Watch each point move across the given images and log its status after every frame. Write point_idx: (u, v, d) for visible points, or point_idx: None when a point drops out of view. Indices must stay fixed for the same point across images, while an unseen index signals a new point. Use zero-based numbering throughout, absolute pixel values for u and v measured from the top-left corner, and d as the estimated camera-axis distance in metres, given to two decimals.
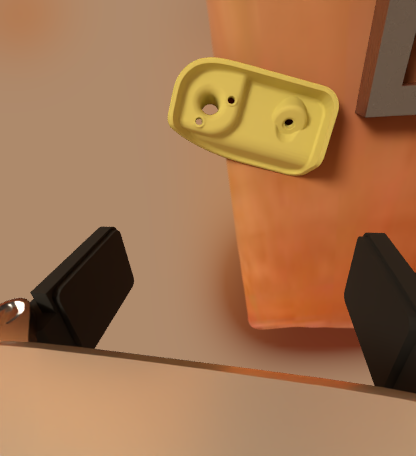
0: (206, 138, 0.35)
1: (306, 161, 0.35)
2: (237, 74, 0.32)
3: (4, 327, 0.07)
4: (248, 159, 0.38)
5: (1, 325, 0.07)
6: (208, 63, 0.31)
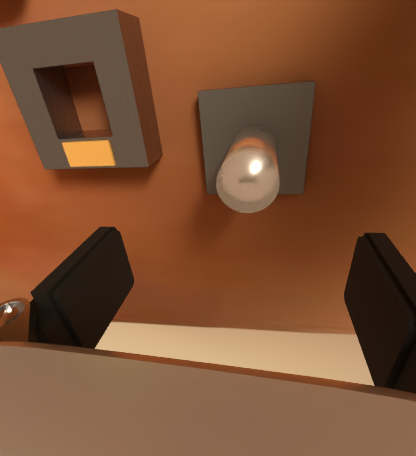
0: None
1: None
2: None
3: (4, 327, 0.07)
4: None
5: (1, 325, 0.07)
6: None
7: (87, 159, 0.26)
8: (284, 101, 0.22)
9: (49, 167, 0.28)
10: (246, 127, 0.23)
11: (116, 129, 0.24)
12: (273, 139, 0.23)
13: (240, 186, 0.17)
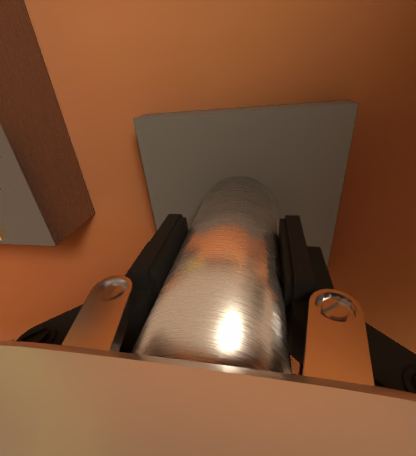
0: None
1: None
2: None
3: (106, 303, 0.07)
4: None
5: (106, 298, 0.07)
6: None
7: None
8: (294, 138, 0.12)
9: None
10: (223, 185, 0.12)
11: None
12: (273, 211, 0.12)
13: None
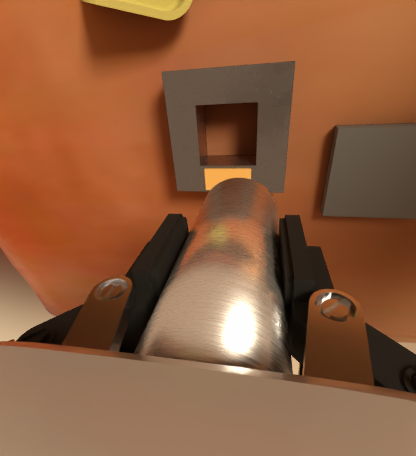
0: None
1: None
2: None
3: (106, 303, 0.07)
4: None
5: (105, 298, 0.07)
6: None
7: None
8: None
9: (182, 189, 0.30)
10: (224, 187, 0.12)
11: (261, 159, 0.27)
12: (274, 212, 0.12)
13: None
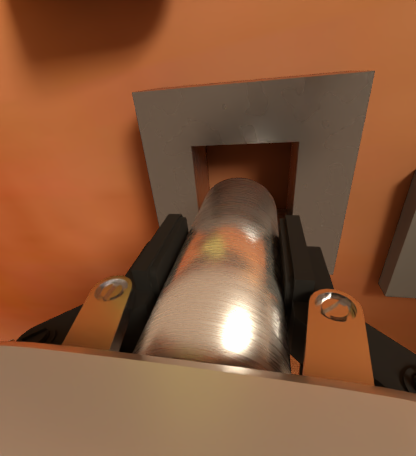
0: None
1: None
2: None
3: (106, 303, 0.07)
4: None
5: (106, 298, 0.07)
6: None
7: None
8: None
9: None
10: (223, 187, 0.12)
11: None
12: (273, 212, 0.12)
13: None
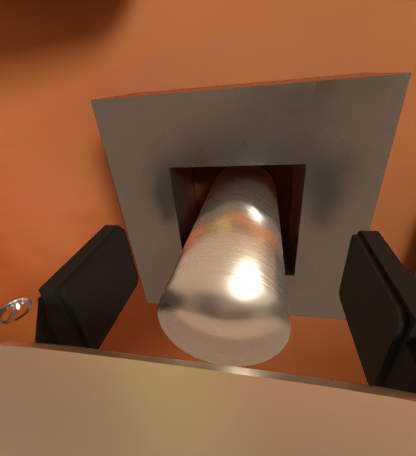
0: None
1: None
2: None
3: (12, 324, 0.07)
4: None
5: (9, 322, 0.07)
6: None
7: None
8: None
9: (156, 301, 0.17)
10: (230, 169, 0.15)
11: (306, 267, 0.13)
12: (274, 191, 0.14)
13: (208, 326, 0.08)
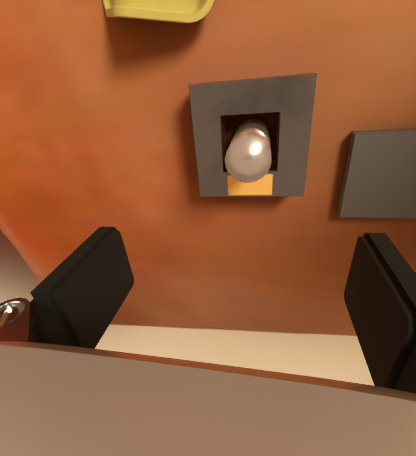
0: None
1: (120, 4, 0.24)
2: None
3: (4, 327, 0.07)
4: None
5: (1, 325, 0.07)
6: None
7: (247, 189, 0.30)
8: None
9: (205, 195, 0.32)
10: (246, 121, 0.29)
11: (282, 165, 0.28)
12: (267, 130, 0.29)
13: (243, 162, 0.23)
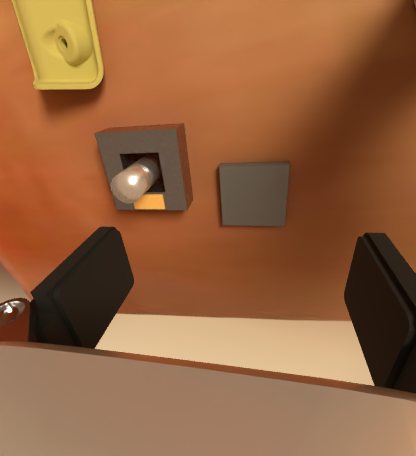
0: None
1: (41, 78, 0.35)
2: None
3: (4, 327, 0.07)
4: None
5: (1, 325, 0.07)
6: None
7: (147, 205, 0.41)
8: (271, 173, 0.37)
9: (120, 208, 0.42)
10: (145, 155, 0.40)
11: (168, 188, 0.39)
12: (159, 162, 0.39)
13: (122, 189, 0.33)
